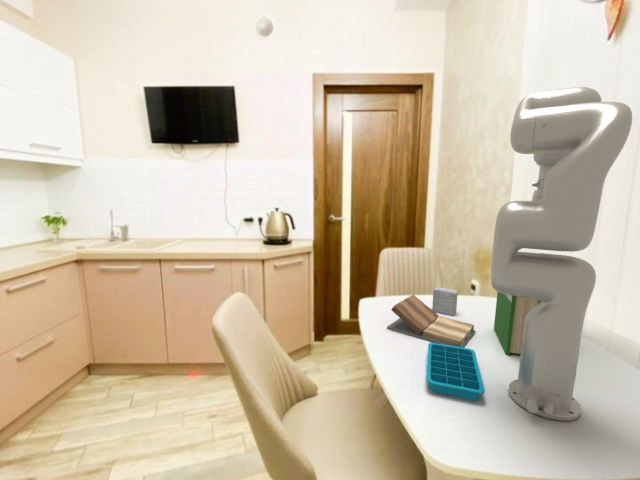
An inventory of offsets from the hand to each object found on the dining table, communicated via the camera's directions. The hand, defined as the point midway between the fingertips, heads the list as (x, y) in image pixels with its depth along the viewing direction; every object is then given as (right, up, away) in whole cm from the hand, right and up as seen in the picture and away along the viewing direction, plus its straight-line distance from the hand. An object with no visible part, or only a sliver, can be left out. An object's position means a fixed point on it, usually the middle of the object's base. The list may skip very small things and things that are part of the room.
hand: (545, 241), depth 98 cm
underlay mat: (-35, -29, +3) cm, 45 cm away
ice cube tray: (-38, -33, -21) cm, 55 cm away
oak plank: (-30, -29, 0) cm, 42 cm away
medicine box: (-24, -27, +20) cm, 41 cm away
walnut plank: (-39, -25, +7) cm, 47 cm away
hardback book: (-13, -30, -4) cm, 33 cm away
